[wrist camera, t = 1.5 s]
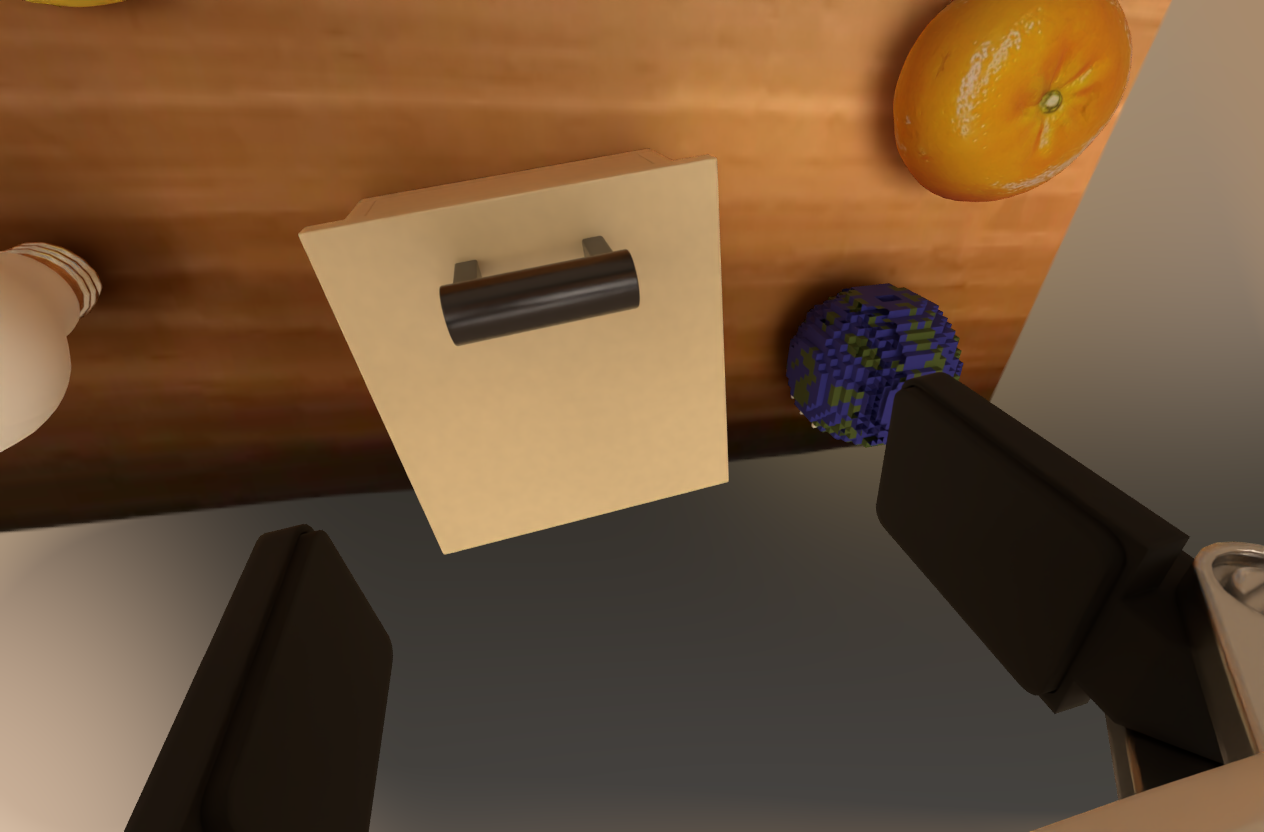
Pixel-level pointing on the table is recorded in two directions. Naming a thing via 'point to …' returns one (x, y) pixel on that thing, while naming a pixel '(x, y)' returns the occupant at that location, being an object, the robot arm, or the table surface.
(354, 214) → the open storage bin
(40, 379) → the light bulb
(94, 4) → the yellow potato
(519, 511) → the wooden box lid
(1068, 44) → the fruit
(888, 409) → the ball
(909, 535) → the robot arm
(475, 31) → the table surface
